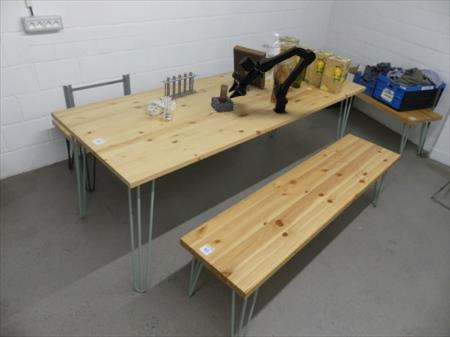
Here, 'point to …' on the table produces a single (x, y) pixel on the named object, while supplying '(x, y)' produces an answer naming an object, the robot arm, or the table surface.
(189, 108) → the table surface
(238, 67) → the photo frame
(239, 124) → the table surface
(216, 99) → the bore block
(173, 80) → the test tube rack
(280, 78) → the pancake mix bag
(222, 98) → the walnut pin
